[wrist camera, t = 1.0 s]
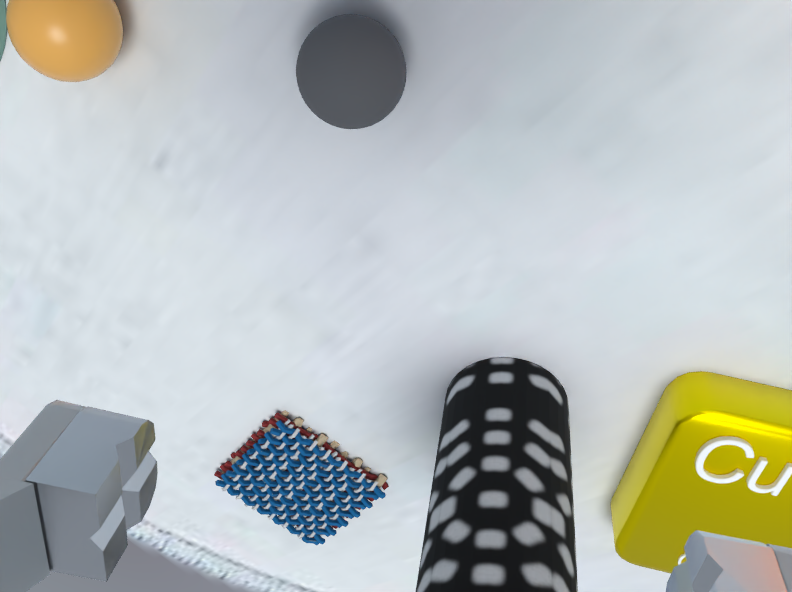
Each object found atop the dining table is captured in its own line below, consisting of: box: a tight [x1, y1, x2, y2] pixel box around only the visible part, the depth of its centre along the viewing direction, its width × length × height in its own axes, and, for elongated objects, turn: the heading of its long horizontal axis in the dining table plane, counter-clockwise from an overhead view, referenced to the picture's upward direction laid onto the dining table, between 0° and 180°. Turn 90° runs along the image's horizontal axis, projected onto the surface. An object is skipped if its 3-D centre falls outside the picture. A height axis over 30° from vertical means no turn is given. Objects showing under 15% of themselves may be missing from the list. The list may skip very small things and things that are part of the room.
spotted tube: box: [416, 358, 578, 592], centre depth 44 cm, size 8×8×20 cm
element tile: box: [611, 371, 792, 573], centre depth 50 cm, size 15×15×5 cm
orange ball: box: [6, 0, 123, 82], centre depth 39 cm, size 6×6×6 cm
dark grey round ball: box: [296, 14, 406, 129], centre depth 38 cm, size 6×6×6 cm
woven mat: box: [214, 410, 389, 545], centre depth 59 cm, size 10×11×2 cm
